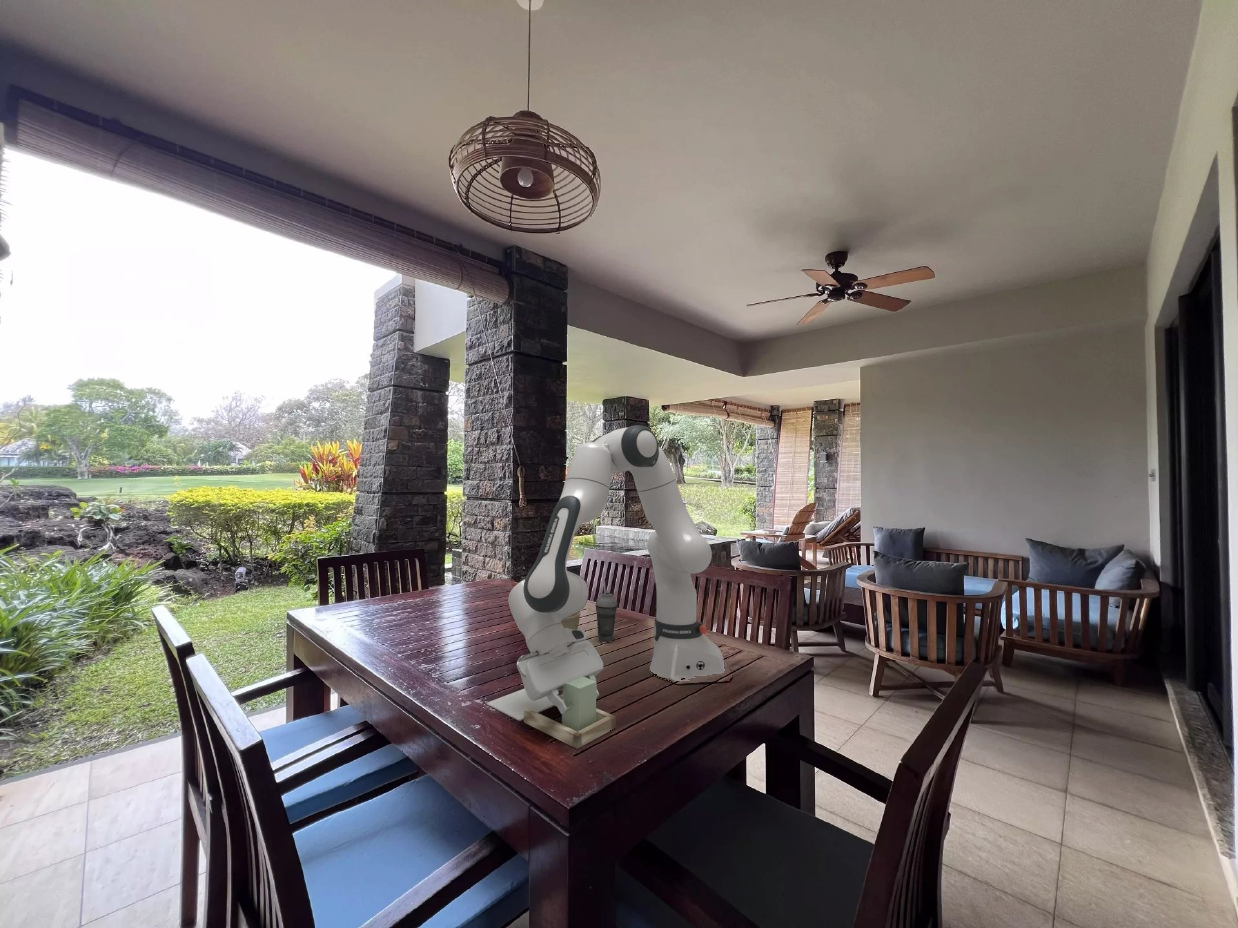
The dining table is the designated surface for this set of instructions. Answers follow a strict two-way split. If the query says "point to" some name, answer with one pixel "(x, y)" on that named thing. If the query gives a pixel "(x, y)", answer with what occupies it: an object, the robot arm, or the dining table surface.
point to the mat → (519, 704)
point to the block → (580, 703)
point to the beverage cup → (606, 615)
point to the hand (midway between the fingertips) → (581, 704)
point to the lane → (567, 734)
